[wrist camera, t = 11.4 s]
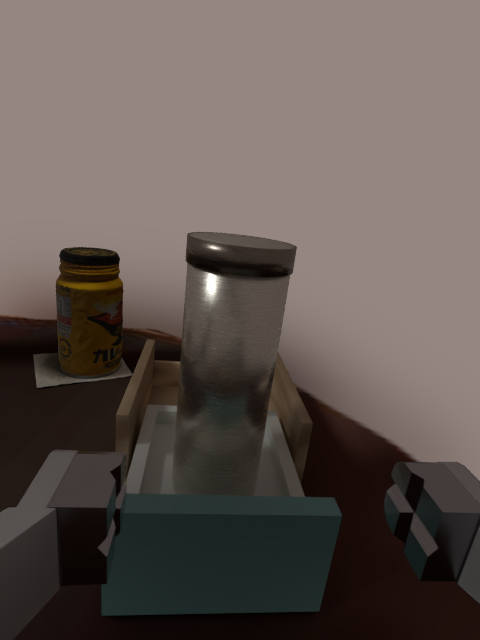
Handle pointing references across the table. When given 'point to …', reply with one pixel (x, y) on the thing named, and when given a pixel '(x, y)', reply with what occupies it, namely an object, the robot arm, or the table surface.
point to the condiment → (86, 320)
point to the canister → (228, 359)
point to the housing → (162, 389)
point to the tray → (218, 536)
